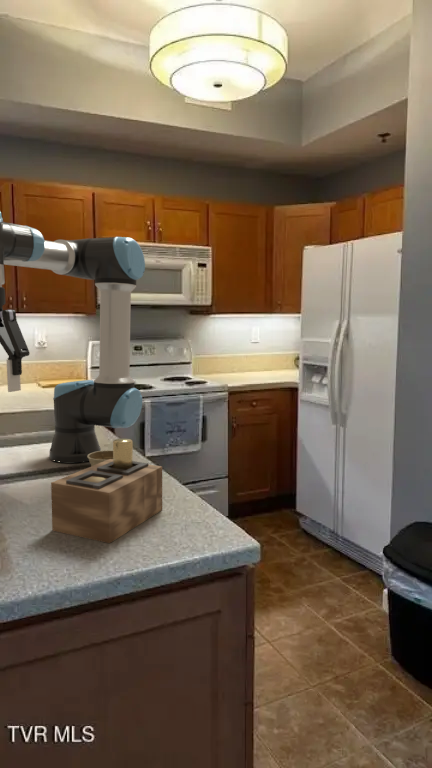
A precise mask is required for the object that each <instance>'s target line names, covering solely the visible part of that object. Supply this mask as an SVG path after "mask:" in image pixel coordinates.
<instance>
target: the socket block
mask: <svg viewBox="0 0 432 768" xmlns="http://www.w3.org/2000/svg"><path fill="white" fill-rule="evenodd" d="M50 491H51V492H50V494H51V496H50V497H51V498H50V499H51V527H52V528H51V529H52V531H54V532H58V533H62V534H66V535H71V536H75V537H80V538H85V539H89V540H93V541H97V542H103V543H106V544H107V543H108V544H111V543H113V542H114V541H115V540H117V539H119V538H120V537H122V536H124V535H126V533H128V532H130V531H132V530H133V529H135V528H136V527H138V526H140V525H141V524H142V523H144V522H146V521H148V520H149V519H150V518H152V517H153V516H155V515H156V514H159V512H162V510H163V466H161V465H155V464H154V465H153V464H149V462H148V463H147V462H141V461H134V460H133V467H132V468H129V469H127V470H123V469H117V468H113V459H109V460H106V461H104V462H101V463H99V464H96V465H94V466H91V465H90V466H89V467H87V468H84V469H81V470H79V471H76V472H74V473H71V474H69V475H66V476H63V477H62V478H60V479H59V478H58V479H57V480H54V481H52V482H50Z"/></svg>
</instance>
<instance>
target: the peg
mask: <svg viewBox="0 0 432 768" xmlns="http://www.w3.org/2000/svg"><path fill="white" fill-rule="evenodd" d="M133 447H134V446H133V440H132V439H130V438H116V439H114V440H113V441H112V450H113V468H117V469H123V470H127V469H129V468H132V467H133V461H134V458H133V457H134V456H133V454H134V453H133V452H134V451H133V450H134V449H133Z"/></svg>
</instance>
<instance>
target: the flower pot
mask: <svg viewBox="0 0 432 768" xmlns="http://www.w3.org/2000/svg"><path fill="white" fill-rule="evenodd" d="M87 457H88V459H89V464H90V467H91V466H94V465H96V464H99V463H101V462H104V461H106V460H109V459H113V449H111V450H106V449H105V450H101V451H97V452H93V453H90V454H89V455H88V456H87Z"/></svg>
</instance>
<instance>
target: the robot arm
mask: <svg viewBox="0 0 432 768" xmlns="http://www.w3.org/2000/svg"><path fill="white" fill-rule="evenodd" d="M3 219H4V218H3V217H2V212H1V210H0V345H1V346H2V348H3V350H4V351H5V353H6V354H7V356H8V357H7V359H6V378H7V392H8V393H13V392H17V391H21V390H22V388H21V387H22V386H21V376H22V373H23V369H22V364H23V362H22V359H23V358H25V357H28V356H30V350H29V348H28V347H29V346H28V345H27V343H26V340H25V338H24V335H23V333H22V331H21V328H20V324H19V323H18V320H17V313H16V310H15V309H3V307H4V306H5V305H6V289H5V287H3V285H5V283H6V281H5V265H7V266H15V267H16V266H17V267H24V268H31V269H33V268H34V269H40V270H49V271H52V272H53V273H55V274H57V275H61V276H67V277H72V278H79V279H84V280H90V281H91V280H94V285H95V287H97V289H98V290H99V292H100V293H99V295H100V297H99V360H98V361H99V365H98V366H99V370H98V371H99V374H98V376H96V378H95V379H85V380H84V379H83V380H77V381H76V380H75V381H67V382H62V383H58V384H57V385H55V386H54V388H53V389H54V390H53V397H52V398H53V412H54V415H53V416H54V435H53V437H52V442H51V447H50V448H49V455H48V456H49V460H50V459H51V460H50V461H52V460H55V461H60V462H82V463H84V462H83V461H89V459H88V457H87V456H88V455H89V454H90V453H93V452H97V451H102V449H101V446H100V443H99V441H98V437H97V434H96V429H95V428H96V427H97V426H98V427H108V428H112V429H127V428H130V427H131V426H133V425H134V424H136V422H137V421H138V419H139V417H140V415H141V412H142V409H143V396H142V393H141V391H140V390H139V389H137V388H136V387H135V380H134V379H133V378H132V377H131V375H130V366H131V365H130V362H131V361H130V357H131V352H130V351H131V302H132V292H133V291H134V290H135V289H136V288H137V280H140V279H141V278H142V277H143V276H144V273H145V270H146V262H145V261H146V260H145V255H144V253H143V249H142V248H141V246H140V244H139V242H138V241H136V240H135V239H133V238H132V237H127V236H126V237H125V236H123V237H122V236H113V237H111V236H110V237H96V238H89V237H88V238H82V239H70V240H69V239H68V240H67V239H56V240H54V241H51V240H45V238H44V235H43V234H42V232H40V230H38V229H37V228H34V227H31V226H28V225H21V224H16V223H12V222H11V223H10V222H5V221H4V220H3ZM89 462H90V461H89Z"/></svg>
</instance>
